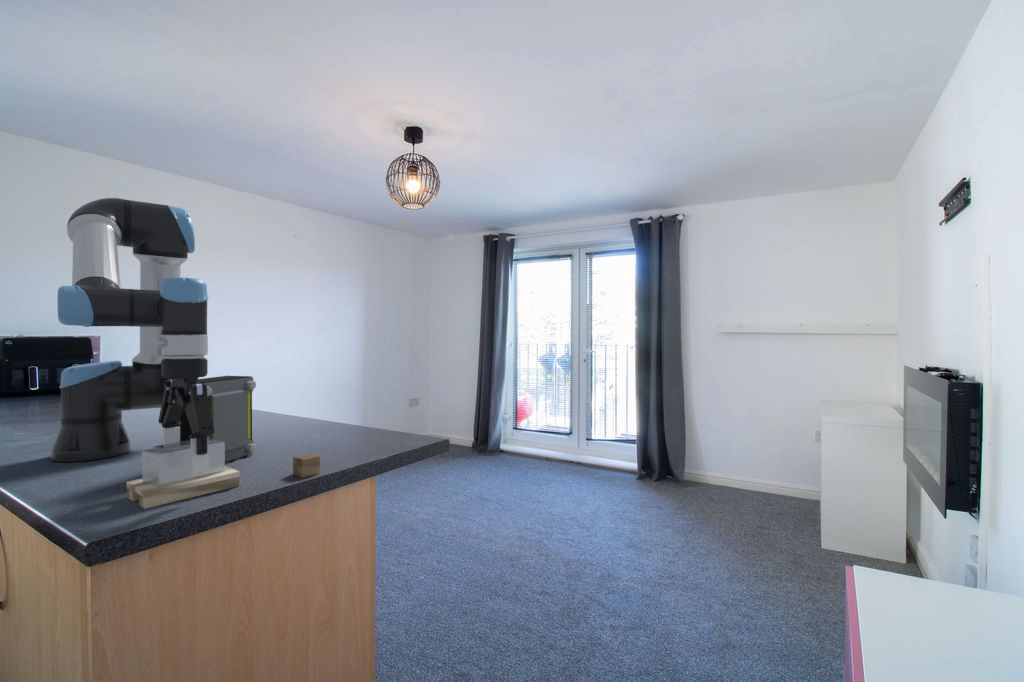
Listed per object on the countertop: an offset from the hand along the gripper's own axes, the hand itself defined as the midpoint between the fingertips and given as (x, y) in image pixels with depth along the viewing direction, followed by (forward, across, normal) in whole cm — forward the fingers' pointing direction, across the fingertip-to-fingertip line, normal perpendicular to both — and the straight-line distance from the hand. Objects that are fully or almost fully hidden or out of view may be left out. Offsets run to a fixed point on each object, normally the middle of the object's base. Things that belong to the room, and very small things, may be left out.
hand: (185, 465), depth 94 cm
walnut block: (+5, +8, +21) cm, 23 cm away
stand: (+5, 0, 0) cm, 5 cm away
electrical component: (+5, -19, +13) cm, 24 cm away
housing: (+2, 0, 0) cm, 2 cm away
